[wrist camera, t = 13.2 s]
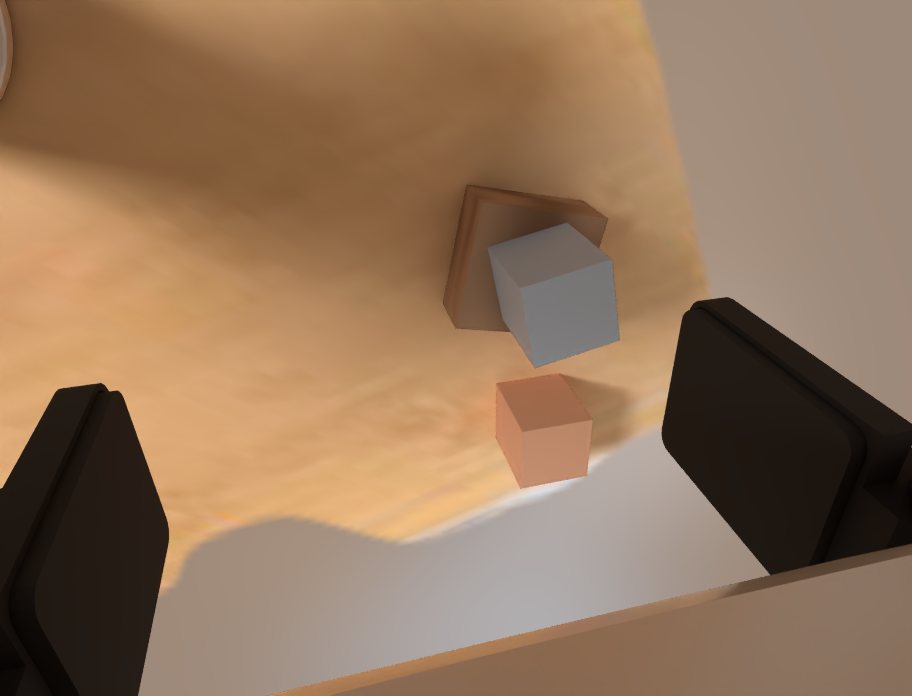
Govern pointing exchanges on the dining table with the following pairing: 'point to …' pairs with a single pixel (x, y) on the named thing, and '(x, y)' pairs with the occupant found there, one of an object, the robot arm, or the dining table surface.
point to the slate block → (555, 293)
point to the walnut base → (495, 222)
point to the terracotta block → (542, 430)
